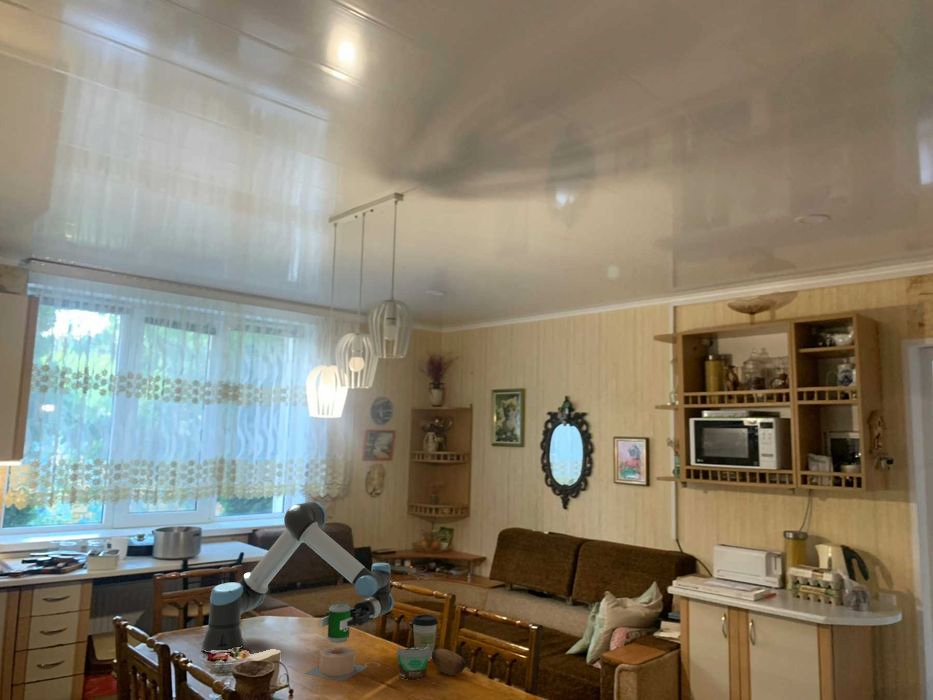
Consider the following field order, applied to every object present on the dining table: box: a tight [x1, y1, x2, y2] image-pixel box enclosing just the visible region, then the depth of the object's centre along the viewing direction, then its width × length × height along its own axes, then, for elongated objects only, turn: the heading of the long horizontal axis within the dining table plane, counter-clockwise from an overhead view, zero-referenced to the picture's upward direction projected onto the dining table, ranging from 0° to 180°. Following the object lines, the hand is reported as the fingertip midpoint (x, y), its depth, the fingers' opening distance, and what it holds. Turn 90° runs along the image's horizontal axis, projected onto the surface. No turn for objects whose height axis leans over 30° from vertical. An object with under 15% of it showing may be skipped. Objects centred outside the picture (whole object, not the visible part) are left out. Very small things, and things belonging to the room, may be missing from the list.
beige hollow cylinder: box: [318, 646, 356, 676], centre depth 229 cm, size 12×12×6 cm
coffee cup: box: [411, 614, 439, 662], centre depth 246 cm, size 10×10×15 cm
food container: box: [395, 644, 430, 681], centre depth 225 cm, size 12×6×10 cm, turn 118°
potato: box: [431, 647, 466, 676], centre depth 231 cm, size 8×13×8 cm
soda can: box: [327, 602, 351, 644], centre depth 230 cm, size 8×8×12 cm
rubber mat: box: [303, 663, 369, 682], centre depth 228 cm, size 16×16×1 cm
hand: (331, 624), depth 226 cm, fingers closed on soda can, 7 cm apart
